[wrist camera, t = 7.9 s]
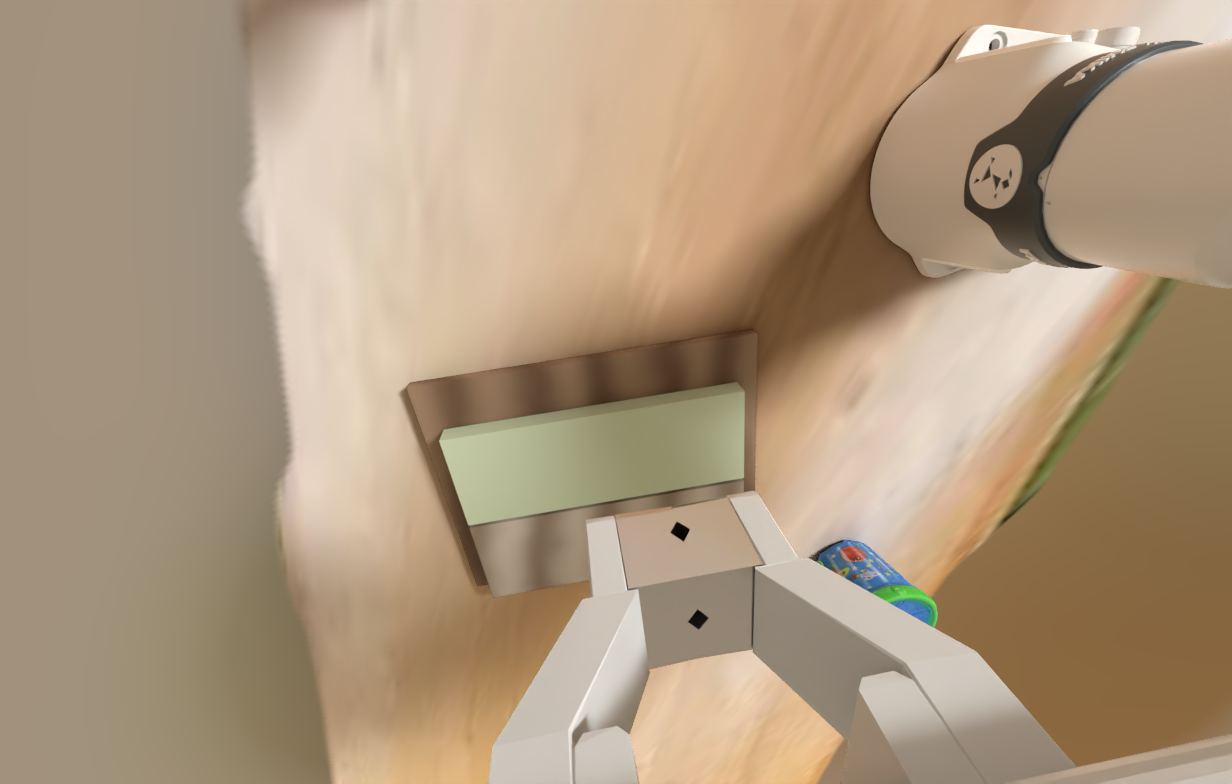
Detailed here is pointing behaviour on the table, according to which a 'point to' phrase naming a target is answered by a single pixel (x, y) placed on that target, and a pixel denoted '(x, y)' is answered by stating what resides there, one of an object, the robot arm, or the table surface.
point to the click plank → (597, 453)
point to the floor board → (557, 539)
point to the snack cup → (878, 578)
